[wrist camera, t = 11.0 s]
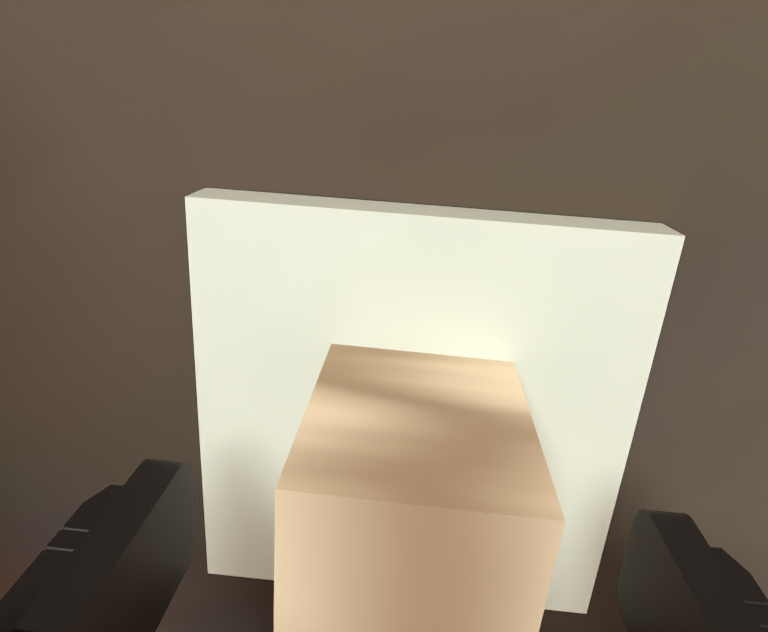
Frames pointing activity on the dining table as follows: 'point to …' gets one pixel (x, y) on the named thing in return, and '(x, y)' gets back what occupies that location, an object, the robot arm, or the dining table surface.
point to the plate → (418, 340)
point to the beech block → (414, 500)
